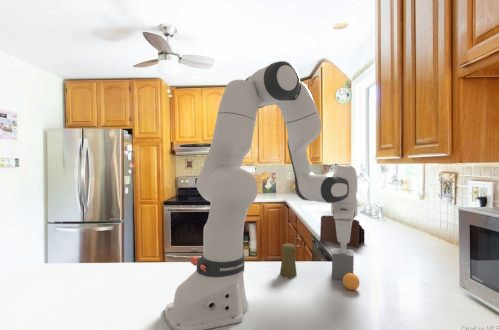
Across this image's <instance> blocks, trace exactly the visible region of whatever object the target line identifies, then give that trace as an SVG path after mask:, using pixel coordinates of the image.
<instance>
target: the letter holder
mask: <svg viewBox="0 0 499 330" xmlns="http://www.w3.org/2000/svg"><path fill="white" fill-rule="evenodd" d="M319 229H320V231H319V233H320V234H319V239H320V241H322V242H327V243H331V244H332V243H333V244H338V245H340V242H338V240H337V233H336V223H335V219H334V217H333V215H321V216H320V228H319ZM365 232H366V231H365V229H364V228H363V226H362V225H361V224H360V221H359V220H356V219H354V220H353V221H352V226H351V234H350V241H349V243H347V247H350V248H351V247H352V248H356V249H359V248H361V247H362V246H363V245H365Z"/></svg>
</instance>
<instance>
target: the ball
mask: <svg viewBox="0 0 499 330" xmlns="http://www.w3.org/2000/svg"><path fill="white" fill-rule="evenodd" d="M342 282H343V283H342V284H343V286H344V287H345V288H346V289H347V290H351V291H354V290H356V289H358V288H359V286H360V278H359V277H358V275H356V274H355V273H354V272H353V273H347V274H346V275H345V276H344V277H343V280H342Z"/></svg>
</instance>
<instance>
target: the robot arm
mask: <svg viewBox="0 0 499 330" xmlns="http://www.w3.org/2000/svg"><path fill="white" fill-rule="evenodd" d="M273 105H274V106H276V107H277V108H278V109H279V110H280V112H281V115H282V118H283V121H284V125H285V128H286V132H287V142H286V143H287V149H288V155H289V158H290V163H291V166H292V170H293V175H294V188H295V193H296V195H297V196H298V198H299V199H301V200H303V201H311V202H313V201H314V202H319V203H325V204H331V205H330V206H331V207H330V209H331V211H330V212H331V216H333V217H334V219H335V223H336V233H337V240H338V242H340V244H339V245H340V249H341V253H346V251H347V247H348V246H347V243H349V241H350V234H351V226H352V221H353V220H355V218H356V217H357V216H358V199H357V192H358V176H357V171H356V169H355V167H353V166H351V165H347V164H335V165H333V167H332V168H331V169H330V170H329V171H328V172H325V173H324V174H317V173H314V172H313V171H312V170H311V168H310V163H309V158H308V154H307V149H308V146H309V145H310V144H312V143H313V142H314V141H315V140H316V139H317V138H318V137H319V135H320V134H321V131H322V121H321V116H320V113H319V111H318V108H317V105H316V102H315V100H314V98H313V96H312V94H311V92H310V90H309V89H308V87H307V85H306V83H304V82H302V81H301V78H300V74H299V72H298V71H297V69H296V68H295V67H294V65H292V64H291V63H290V62H288V61H285V60H282V61H275V62H272V63H270V64H268V65H267V66H265V67H263V68H260V69H258V70H257V71H255V72H254V73H253V74H251V75H250V76H248V77H247V78H245V80H244V79H234V80H231V81H229V82H228V84H227V85H225V88H224V91H223V93H222V96H221V99H220V102H219V106H218V110H217V116H216V121H215V124H214V130H213V135H212V140H211V142H210V143H211V144H210V147H209V149H208V151H207V155H206V157H205V160H204V162H203V166H202V169H201V171H200V173H199V174H198V176H197V178H196V182H195V183H196V189H197V191H198V193H199V194H200V196H201V197H202V198H203V199H204V200H205V201H207V202H210V205H209V206H210V208H209V211H208V212H209V213H208V218H207V220H206V223H205V224H204V226H203V239H202V240H203V245H202V247H203V248H202V251H203V252H202V255H201V257H200V258H198V257H197V256H192V257H191V258H190V264H192V265H193V266H195V267H196V269H195V271H194V272H193V273H192V274H191V275H189V276H188V277H187V278H186V279H185V280H183V282H182V283H180V284H179V285H178V286H177V288H176V289H175V293H174V299H173V302H170V303H168V304H166V306H165V308H164V317H165V320H166V323H167V324H168V326H169V327H170V328H171V329H173V330H209V329H215V328H219V327H223V326H228V325H231V324H232V325H233V324H238V323H241V322H242V321H243V318H244V314H245V312H247V310H248V308H249V303H248V302H249V301H248V299H247V295H246V289H245V283H244V282H245V280H244V272H245V254H244V229H245V228H244V227H245V223H246V218H247V215H248V211H249V209H250V206H251V205H252V204H253V202H255V201H256V199H257V196H258V190H259V187H258V182H257V180H256V177H254V175H253V174H252V173H251V172H249V171H247V170H246V169H244V168H242V167H241V166H242V164H243V162H244V159H245V157H246V156H247V155H248V153H249V152H250V151H251V149H252V144H253V138H254V131H255V127H256V121H257V114H258V111H259V109H262V108H265V107H269V106H273Z"/></svg>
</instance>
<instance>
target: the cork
mask: <svg viewBox="0 0 499 330" xmlns="http://www.w3.org/2000/svg"><path fill="white" fill-rule="evenodd" d="M296 252H297V247H296V245H294V244H293V243H283V244H282V246H281V253H282V257H281V262H280V263H281V264H280V271H279V276H280V277H282V276H283V277H282V278H284V277H287V278H286V279H292V278H291V277H295V276H296V275H297V265H296V257H295V254H296ZM297 276H298V275H297ZM297 276H296V277H297ZM296 277H295V278H296Z"/></svg>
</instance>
